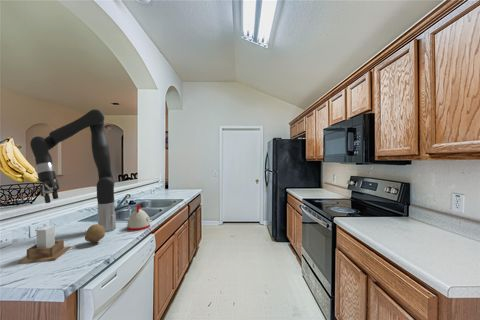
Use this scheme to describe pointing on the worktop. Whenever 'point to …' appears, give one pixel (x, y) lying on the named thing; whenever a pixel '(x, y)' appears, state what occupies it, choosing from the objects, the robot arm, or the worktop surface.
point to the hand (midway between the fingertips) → (51, 200)
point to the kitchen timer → (138, 220)
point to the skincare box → (45, 237)
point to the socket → (45, 253)
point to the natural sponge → (94, 233)
